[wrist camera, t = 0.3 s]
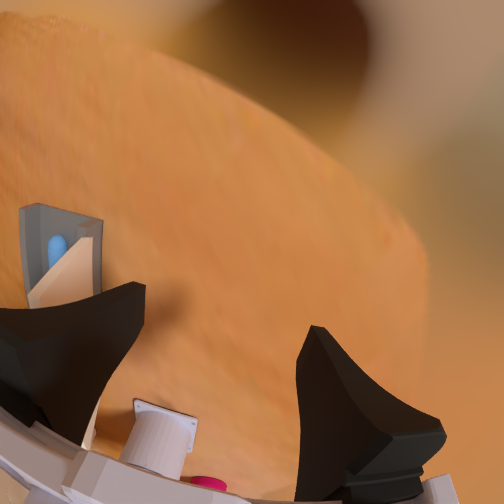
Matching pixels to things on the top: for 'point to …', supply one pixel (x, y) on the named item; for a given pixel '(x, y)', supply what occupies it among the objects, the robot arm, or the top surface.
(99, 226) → the cable duct
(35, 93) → the top surface
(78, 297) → the panel
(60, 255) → the blue rounded capsule rod
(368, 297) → the top surface
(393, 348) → the top surface
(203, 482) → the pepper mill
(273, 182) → the top surface
